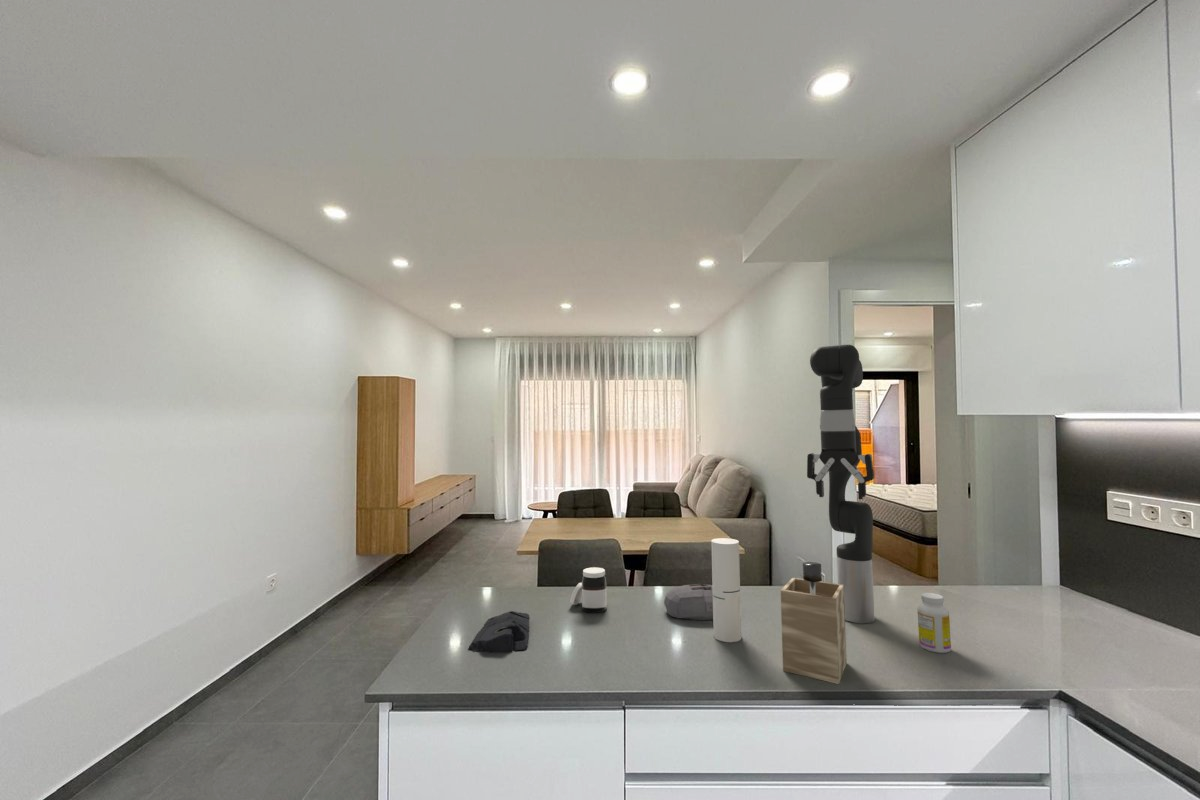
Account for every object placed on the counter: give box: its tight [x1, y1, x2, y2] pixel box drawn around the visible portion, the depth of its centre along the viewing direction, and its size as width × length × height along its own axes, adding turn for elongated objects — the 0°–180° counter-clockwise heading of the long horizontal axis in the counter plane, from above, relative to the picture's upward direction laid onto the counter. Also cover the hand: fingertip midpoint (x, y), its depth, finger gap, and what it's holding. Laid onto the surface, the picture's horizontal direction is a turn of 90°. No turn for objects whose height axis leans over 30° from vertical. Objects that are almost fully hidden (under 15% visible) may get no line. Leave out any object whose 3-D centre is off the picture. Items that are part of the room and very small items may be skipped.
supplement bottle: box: [916, 592, 952, 654], centre depth 128 cm, size 7×7×13 cm
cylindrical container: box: [710, 537, 742, 643], centre depth 137 cm, size 7×7×25 cm
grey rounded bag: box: [663, 583, 713, 621], centre depth 154 cm, size 15×8×20 cm
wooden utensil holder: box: [780, 577, 848, 685], centre depth 119 cm, size 12×12×18 cm
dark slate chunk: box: [467, 610, 531, 654], centre depth 139 cm, size 15×22×5 cm
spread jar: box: [570, 566, 608, 613], centre depth 160 cm, size 12×11×12 cm
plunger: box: [802, 561, 823, 595], centre depth 119 cm, size 9×9×22 cm
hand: (840, 497), depth 121 cm, fingers open, 8 cm apart
